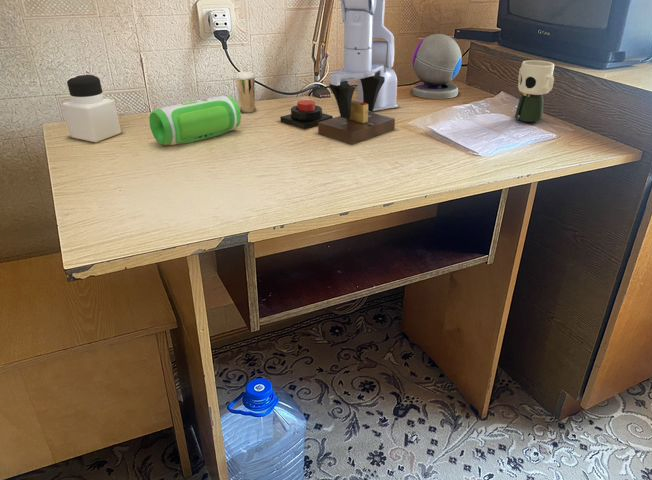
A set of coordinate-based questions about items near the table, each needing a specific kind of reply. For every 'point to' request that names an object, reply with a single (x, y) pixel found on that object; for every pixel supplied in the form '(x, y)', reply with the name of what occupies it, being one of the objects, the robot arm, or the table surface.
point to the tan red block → (359, 111)
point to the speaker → (194, 120)
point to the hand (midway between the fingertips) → (357, 113)
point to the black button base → (305, 117)
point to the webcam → (437, 67)
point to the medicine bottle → (90, 110)
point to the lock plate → (356, 128)
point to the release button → (306, 105)
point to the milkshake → (246, 90)
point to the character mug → (533, 88)
